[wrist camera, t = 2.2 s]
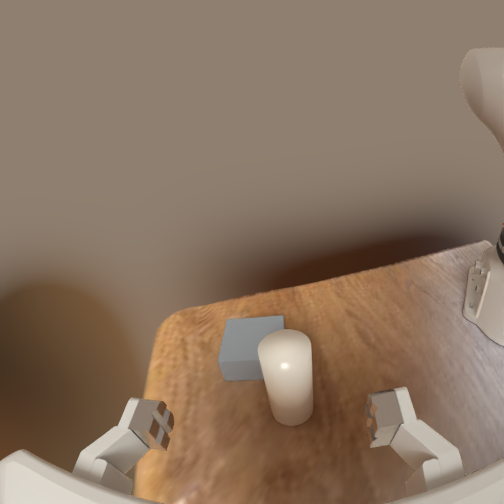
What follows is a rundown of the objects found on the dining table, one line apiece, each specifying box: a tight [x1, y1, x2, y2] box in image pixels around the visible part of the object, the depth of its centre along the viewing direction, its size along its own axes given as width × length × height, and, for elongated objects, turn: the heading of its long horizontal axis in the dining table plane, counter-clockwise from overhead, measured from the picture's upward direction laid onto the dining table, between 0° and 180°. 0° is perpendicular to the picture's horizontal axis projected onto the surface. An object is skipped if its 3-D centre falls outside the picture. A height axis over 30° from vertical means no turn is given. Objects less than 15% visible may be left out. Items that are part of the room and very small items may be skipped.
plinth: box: [218, 315, 285, 381], centre depth 37 cm, size 8×8×4 cm
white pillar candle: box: [258, 329, 313, 426], centre depth 27 cm, size 5×5×11 cm
